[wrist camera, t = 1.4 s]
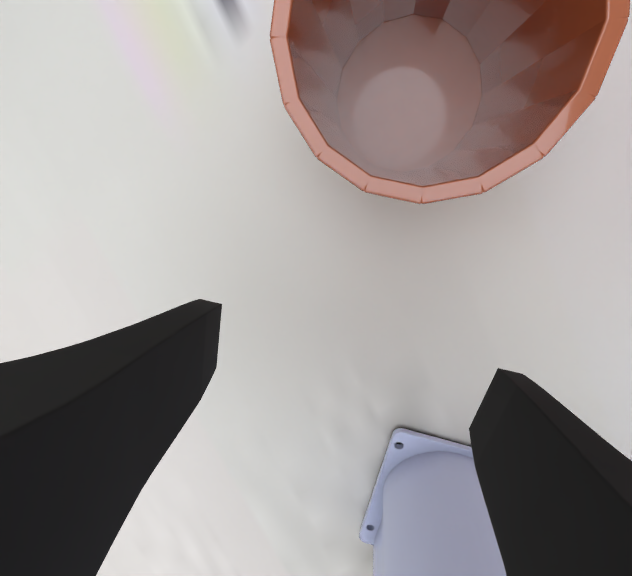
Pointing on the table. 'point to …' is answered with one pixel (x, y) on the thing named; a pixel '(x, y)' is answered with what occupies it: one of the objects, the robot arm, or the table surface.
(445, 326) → the table surface
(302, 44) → the cup
